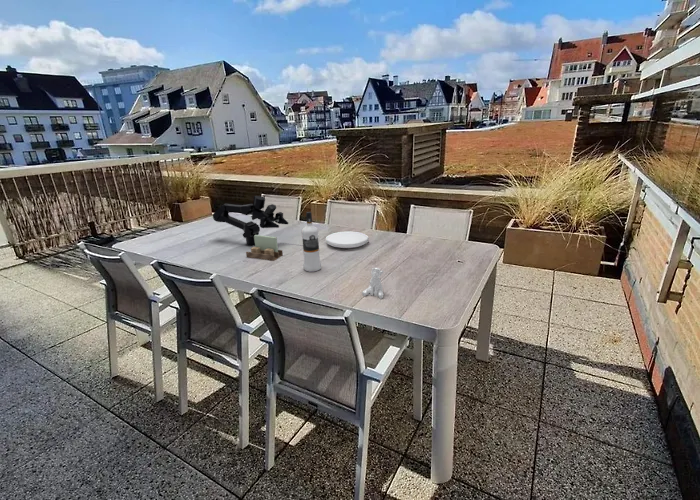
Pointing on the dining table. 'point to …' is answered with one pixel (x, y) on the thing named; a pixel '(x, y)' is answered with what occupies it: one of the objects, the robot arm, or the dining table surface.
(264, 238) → the green rectangular slab
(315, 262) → the vodka
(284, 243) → the mat
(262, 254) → the rack
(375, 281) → the sitting furry creature
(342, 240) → the plate
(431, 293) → the dining table surface
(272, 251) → the offcut
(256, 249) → the offcut
